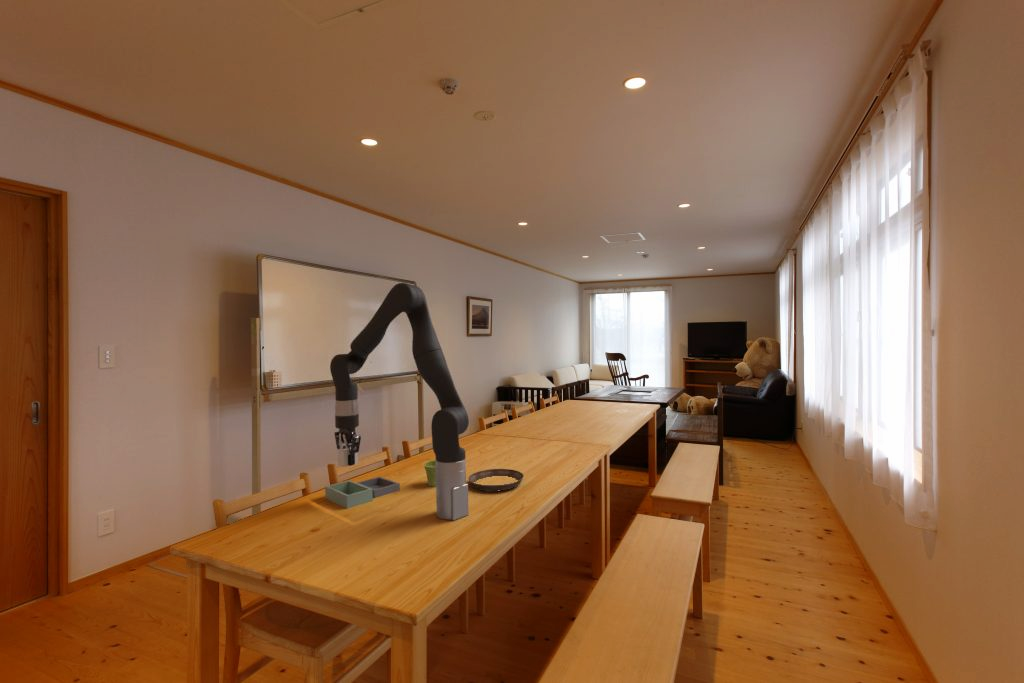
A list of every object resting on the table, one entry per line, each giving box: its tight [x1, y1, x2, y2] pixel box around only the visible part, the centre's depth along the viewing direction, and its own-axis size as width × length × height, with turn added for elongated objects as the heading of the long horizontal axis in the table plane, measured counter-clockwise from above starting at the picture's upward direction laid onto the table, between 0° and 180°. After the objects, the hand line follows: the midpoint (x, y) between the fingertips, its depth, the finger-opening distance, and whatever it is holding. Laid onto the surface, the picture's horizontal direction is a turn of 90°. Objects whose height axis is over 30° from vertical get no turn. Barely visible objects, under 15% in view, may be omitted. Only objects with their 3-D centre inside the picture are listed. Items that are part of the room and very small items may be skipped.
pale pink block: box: [337, 447, 359, 468], centre depth 158 cm, size 4×5×5 cm
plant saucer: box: [467, 468, 525, 492], centre depth 175 cm, size 21×21×3 cm
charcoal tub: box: [356, 476, 401, 499], centre depth 167 cm, size 13×10×4 cm
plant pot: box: [422, 459, 436, 488], centre depth 173 cm, size 9×9×9 cm
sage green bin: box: [324, 479, 374, 509], centre depth 158 cm, size 15×9×5 cm, turn 48°
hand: (347, 463), depth 158 cm, fingers closed on pale pink block, 4 cm apart
